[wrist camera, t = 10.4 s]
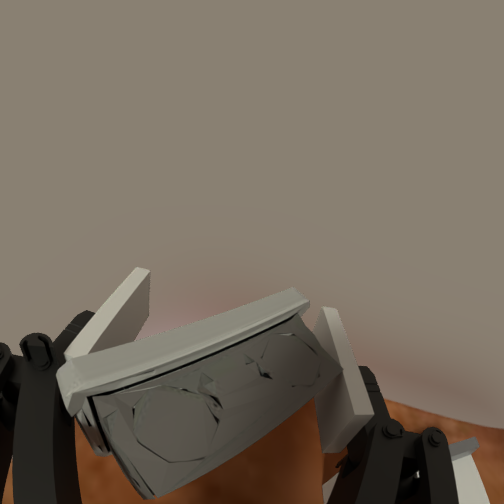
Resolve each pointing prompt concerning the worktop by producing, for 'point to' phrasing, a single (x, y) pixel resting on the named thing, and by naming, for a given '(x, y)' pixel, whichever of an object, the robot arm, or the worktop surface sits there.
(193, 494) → the worktop surface
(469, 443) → the white square box
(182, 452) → the electrical switch
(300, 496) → the worktop surface
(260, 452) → the worktop surface
